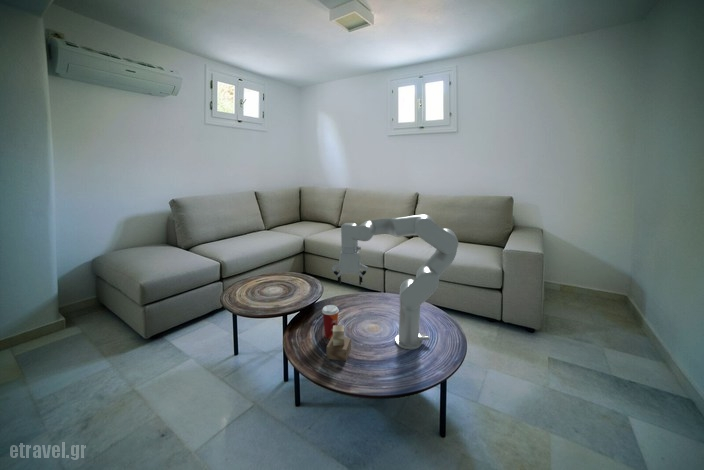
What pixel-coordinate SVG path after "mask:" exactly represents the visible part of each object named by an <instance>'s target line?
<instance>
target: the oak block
mask: <svg viewBox="0 0 704 470" xmlns="http://www.w3.org/2000/svg"><path fill="white" fill-rule="evenodd" d="M344 337H345V325H335V326H333V346H339V345H344Z"/></svg>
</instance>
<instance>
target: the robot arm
mask: <svg viewBox="0 0 704 470" xmlns="http://www.w3.org/2000/svg"><path fill="white" fill-rule="evenodd" d="M340 227H341V228H340V232H341V233H340V234H341V235H340V236H341V237H340V238H341V239H340V240H341V241H340V242H341V251H340V252H339V259H338V261H339V262H338V263H337V264H334V265H333V266H332V267H331V270H332V272H333V274H334V275H335V276H336V277H337V283H338V285H339V286H341V284H342V276H341V275H342V274H358V275H359V276H358V277H359V279H358V280H359V282H358V283H359V285H360V286H361V285H362V283H363V277H364V276H365V274H366V273H367V272H368V270H369V266H367V265H365V264H364V263H361V253H360V251H361V250H362V247H361V246H358V244H359V243H358V241H360V242H369V241H370V240H371V239H372V238H373V237H374V236H380V235H390V236H393V237H396V238H401V237H410V236H417V237H419V238H420V239H421V240H422V241H424V242H425V243H427V244H429V246H431V247H433V248H434V249H436V250H435V252H434V253H433V254H432V255H431V256H430V258H428V259H427V260H426V261H425V262H424V263H423V264H422V265H421V266H420V267H419V268H418V269H417V270H416V274H415V279H412V278H408V279H405V280H404V281H403V282H402V283H401V284H400V287H399V298H398V299H399V313H398V314H399V315H398V316H399V317H398V335H396V337H395V338H394V340H395V341H394V342H395V344H396V346H398V347H399V348H401V349H403V350H410V351H411V350H417V349H419V348H420V347H421V346H422V345H423V341H430V337H429V336H426V334H425V333H420V320H421V319H420V317H421V306H422V304H423V303H425V302H426V301H427V300H428V299H430V297H431V296H432V295H433V294H434V293H435V292H436V291H437V290H438V287H439V285H440V277H441V275H442V274H443V273H444V272H445V271H446V270H447V269H448V268H449V267H450V266H451V264H452V263H453V262H454V260H455V258H456V256H457V252H458V247H459V239H458V237H457V235H456V233H455V232H454V231H453V230H451V229H450V228H443V227H442V226H440V225H439V224H437V223H436V222H435V221H434V219H433V217H431V216H430V215H429V214H417V215H410V216H409V215H408V216H402V217H393V218H392V217H391V218H378V219H371V220H366V221H364V222H362V223H360V225H358V224H357V223H355V222H345V223H342V224H341V226H340ZM336 269H338V270H339V271H337V270H336ZM361 269H363V271H361Z"/></svg>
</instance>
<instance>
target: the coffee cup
mask: <svg viewBox="0 0 704 470" xmlns="http://www.w3.org/2000/svg"><path fill="white" fill-rule="evenodd" d="M321 312H322V317H323V318H322V319H323V328H324V335H325V338H327V339H331V337H332V336H333V326H335V325H338V324H339V323H338V322H339V308H338V306H336V305H333V304H328V305H325V306H323V307H322V310H321Z"/></svg>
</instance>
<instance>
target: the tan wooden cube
mask: <svg viewBox="0 0 704 470" xmlns="http://www.w3.org/2000/svg"><path fill="white" fill-rule="evenodd" d="M351 349H352V338H351V337H346V336H344V345H339V346H333V336H332V337H331V339H330V340H329V341H328V344H327V345H326V359H327V360H328V359H329V360H335V361H341V362H347V361H348V358H349V355H350V353H351V351H352V350H351Z"/></svg>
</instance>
